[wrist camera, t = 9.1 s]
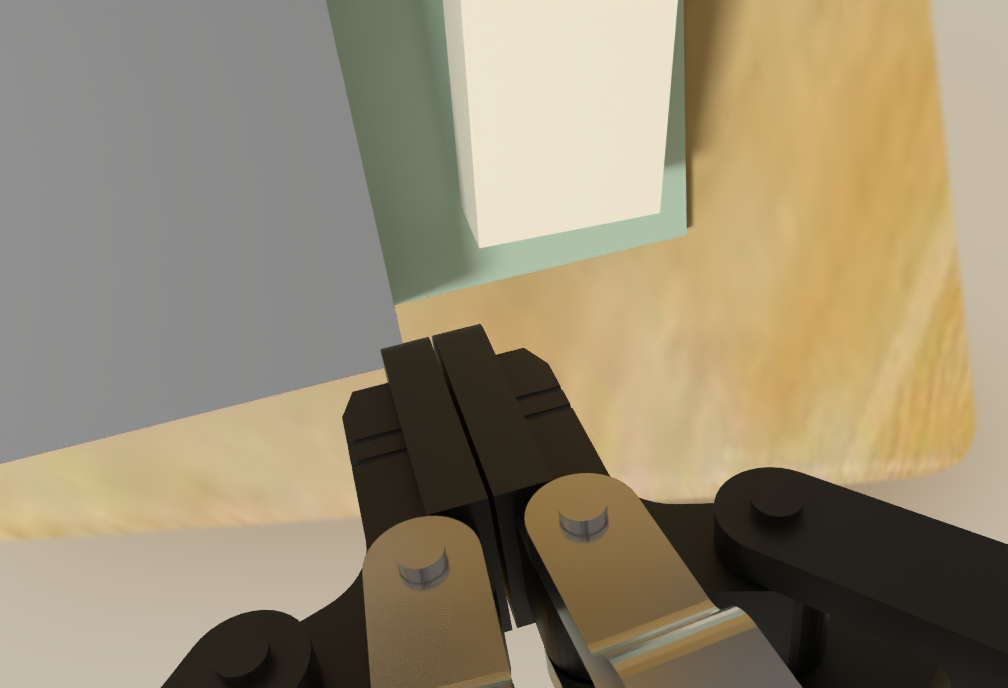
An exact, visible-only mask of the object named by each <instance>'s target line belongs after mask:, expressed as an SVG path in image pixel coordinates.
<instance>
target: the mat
mask: <svg viewBox="0 0 1008 688" xmlns="http://www.w3.org/2000/svg"><path fill="white" fill-rule="evenodd" d="M326 3H327V8H328V12H329V17H330V21H331V26H332V30H333V35H334V39H335V44H336V48H337V53H338V57H339V62H340V66H341V70H342V75H343V79H344V84H345V88H346V93H347V97H348V102H349V106H350V111H351V115H352V120H353V124H354V129H355V133H356V137H357V142H358V146H359V151H360V155H361V160H362V164H363V169H364V173H365V178H366V182H367V187H368V191H369V196H370V200H371V204H372V209H373V213H374V218H375V222H376V227H377V231H378V236H379V240H380V245H381V249H382V254H383V258H384V263H385V267H386V271H387V276H388V280H389V285H390V289H391V294H392V298H393V303H394V305H398V304H402V303H406V302H410V301H414V300H418V299H423V298H427V297H431V296H435V295H439V294H443V293H447V292H452V291H456V290H460V289H464V288H468V287H472V286H477V285H481V284H485V283H489V282H493V281H497V280H502V279H506V278H510V277H514V276H518V275H522V274H526V273H531V272H535V271H539V270H543V269H547V268H551V267H556V266H560V265H564V264H568V263H572V262H576V261H581V260H585V259H589V258H593V257H597V256H601V255H606V254H610V253H614V252H618V251H622V250H626V249H630V248H635V247H639V246H643V245H647V244H651V243H655V242H660V241H664V240H668V239H672V238H676V237H680V236H685V235H687V219H686V143H685V67H684V0H678V5H677V16H676V28H675V40H674V52H673V64H672V76H671V88H670V100H669V112H668V124H667V136H666V148H665V159H664V171H663V183H662V195H661V207H660V213H658V214H653V215H647V216H642V217H637V218H632V219H627V220H622V221H617V222H612V223H607V224H601V225H596V226H591V227H586V228H581V229H576V230H571V231H566V232H561V233H555V234H550V235H545V236H540V237H535V238H530V239H525V240H520V241H515V242H509V243H504V244H499V245H494V246H489V247H484V248H479V246H478V244H477V242H476V239H475V237H474V235H473V233H472V230H471V228H470V226H469V223H468V221H467V219H466V216H465V214H464V212H463V209H462V207H461V201H460V189H459V178H458V167H457V156H456V144H455V133H454V122H453V110H452V99H451V88H450V76H449V65H448V54H447V43H446V31H445V20H444V9H443V0H326Z"/></svg>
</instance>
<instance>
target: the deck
mask: <svg viewBox="0 0 1008 688" xmlns="http://www.w3.org/2000/svg"><path fill="white" fill-rule="evenodd" d="M399 344H403V343H402V338H401V334H400V330H399V325H398V321H397V316H396V312H395V307H394V303H393V298H392V294H391V289H390V285H389V280H388V276H387V271H386V267H385V263H384V258H383V254H382V249H381V245H380V240H379V236H378V231H377V227H376V222H375V218H374V213H373V209H372V204H371V200H370V196H369V191H368V187H367V182H366V178H365V173H364V169H363V164H362V160H361V155H360V151H359V146H358V142H357V137H356V133H355V129H354V124H353V120H352V115H351V111H350V106H349V102H348V97H347V93H346V88H345V84H344V79H343V75H342V70H341V66H340V62H339V57H338V53H337V48H336V44H335V39H334V35H333V30H332V26H331V21H330V17H329V12H328V8H327V3H326V0H0V464H2V463H6V462H10V461H14V460H18V459H22V458H26V457H30V456H34V455H38V454H42V453H46V452H50V451H54V450H58V449H62V448H66V447H70V446H74V445H78V444H82V443H86V442H90V441H94V440H98V439H102V438H106V437H110V436H114V435H118V434H122V433H126V432H130V431H134V430H138V429H142V428H146V427H150V426H154V425H158V424H162V423H166V422H170V421H174V420H177V419H181V418H185V417H189V416H193V415H197V414H201V413H205V412H209V411H213V410H217V409H221V408H225V407H229V406H233V405H237V404H241V403H245V402H249V401H253V400H257V399H261V398H265V397H269V396H273V395H277V394H281V393H285V392H289V391H293V390H297V389H301V388H305V387H309V386H313V385H317V384H321V383H325V382H329V381H333V380H337V379H341V378H345V377H349V376H353V375H357V374H361V373H365V372H369V371H373V370H377V369H381V368H384V364H383V360H382V356H381V351H380V349H383V348H387V347H391V346H395V345H399Z"/></svg>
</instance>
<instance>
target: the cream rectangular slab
mask: <svg viewBox="0 0 1008 688" xmlns="http://www.w3.org/2000/svg"><path fill="white" fill-rule="evenodd" d="M677 5H678V0H443V9H444V20H445V31H446V43H447V54H448V65H449V76H450V88H451V99H452V110H453V122H454V133H455V144H456V156H457V167H458V178H459V189H460V201H461V207H462V209H463V212H464V214H465V216H466V219H467V221H468V223H469V226H470V228H471V230H472V233H473V235H474V237H475V239H476V242H477V244H478V246H479V248H484V247H489V246H494V245H499V244H504V243H509V242H515V241H520V240H525V239H530V238H535V237H540V236H545V235H550V234H555V233H561V232H566V231H571V230H576V229H581V228H586V227H591V226H596V225H601V224H607V223H612V222H617V221H622V220H627V219H632V218H637V217H642V216H647V215H653V214H658V213H660V207H661V195H662V183H663V171H664V159H665V148H666V136H667V124H668V112H669V100H670V88H671V76H672V64H673V52H674V40H675V28H676V16H677Z"/></svg>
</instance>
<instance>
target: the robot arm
mask: <svg viewBox="0 0 1008 688" xmlns="http://www.w3.org/2000/svg"><path fill="white" fill-rule="evenodd" d="M432 341H433V347H434V349H433V347H432V344H431V341H430V339H429V337H427V338H423V339H419V340H415V341H411V342H407V343H403V344H399V345H395V346H391V347H387V348H383V349H380V351H381V356H382V360H383V364H384V368H385V372H386V376H387V381H388V383H385V384H382V385H378V386H374V387H370V388H366V389H362V390H358V391H354V392H352V395H351V397H350V400H349V402H348V405H347V407H346V409H345V412H344V414H343V417H342V419H343V424H344V429H345V434H346V440H347V444H348V450H349V455H350V460H351V465H352V471H353V476H354V481H355V486H356V492H357V497H358V502H359V507H360V513H361V518H362V523H363V527H364V533H365V538H366V547H367V552H366V556H365V559H364V563H363V567H362V569H361V571H360V573H359V575H358V577H357V578H356V580H355V581H354V583H353V584H352V585H351V586H350V587H349V588H348V589H347V590H346V591H345V592H344V593H343V594H342V595H341V596H340V597H339V598H337V599H336V600H335V601H333V602H332V603H330V604H329V605H327V606H326V607H324V608H323V609H321V610H319V611H318V612H316V613H314V614H312V615H311V616H309V617H307V618H306V619H304V620H302V621H300V622H299V621H298V620H297V619H295V618H294V617H292V616H291V615H288V614H286V613H283V612H279V611H274V610H259V611H251V612H247V613H243V614H240V615H237V616H235V617H232V618H229V619H228V620H226V621H224V622H222V623H220V624H219V625H217V626H216V627H214V628H213V629H211V630H210V631H209V632H208V633H206V634H205V635H204V636H203V637H202V638H201V639H200V640H199V641H198V642H197V643H196V644H195V646H194V647H193V648H192V649H191V651H190V652H189V653H188V654H187V655H186V657H185V658H184V659H183V660H182V662H181V663H180V664H179V666H178V667H177V668H176V669H175V671H174V672H173V673H172V675H171V676H170V677H169V678H168V679H167V681H166V682H165V683H164V684H163V686H162V687H161V688H515V687H514V684H513V683H512V678H511V666H510V661H509V655H508V650H507V645H506V640H505V635H504V632H507V631H510V630H512V625H511V620H510V614H509V609H508V603H507V600H508V602H509V605H510V608H511V611H512V614H513V617H514V620H515V623H516V626H517V628H519V627H522V626H526V625H529V624H532V623H536V625H537V628H538V630H539V633H540V636H541V639H542V641H543V644H544V648H545V654H546V660H547V667H548V673H549V675H550V678H551V681H552V683H553V685H554V687H555V688H1008V544H1005V543H1002V542H999V541H996V540H994V539H991V538H988V537H985V536H982V535H979V534H976V533H973V532H971V531H968V530H965V529H962V528H959V527H956V526H953V525H950V524H948V523H945V522H942V521H939V520H936V519H933V518H930V517H927V516H924V515H922V514H919V513H916V512H913V511H910V510H907V509H904V508H902V507H899V506H896V505H893V504H890V503H887V502H884V501H881V500H878V499H875V498H873V497H870V496H867V495H864V494H861V493H858V492H855V491H852V490H850V489H847V488H844V487H841V486H838V485H835V484H832V483H830V482H827V481H824V480H821V479H818V478H815V477H812V476H809V475H807V474H804V473H801V472H797V471H794V470H790V469H784V468H774V467H766V468H756V469H751V470H747V471H744V472H741V473H739V474H737V475H735V476H733V477H732V478H730V479H729V480H728V481H726V482H725V483H724V484H723V485H722V486H721V487H720V489H719V491H718V492H717V494H716V497H715V501H714V503H706V504H663V503H656V502H652V501H648V500H644V499H642V498H639V497H638V496H637V495H636V494H635V492H634V491H633V490H632V489H631V488H630V487H628V486H627V485H626V484H625V483H623V482H621V481H619V480H617V479H615V478H612V477H610V475H609V474H608V472H607V470H606V468H605V466H604V465H603V463H602V461H601V459H600V457H599V456H598V454H597V452H596V450H595V448H594V446H593V445H592V443H591V441H590V439H589V437H588V435H587V434H586V432H585V430H584V428H583V426H582V425H581V423H580V421H579V419H578V417H577V415H576V414H575V412H574V410H573V408H571V406H570V403H569V401H568V399H567V397H566V395H565V393H564V392H563V390H561V387H560V384H559V383H558V381H557V379H556V377H555V375H554V373H553V372H552V370H551V368H550V366H549V364H548V363H546V362H545V361H543V360H542V359H540V358H539V357H537V356H536V355H534V354H533V353H531V352H530V351H528V350H526V349H525V348H521V349H517V350H513V351H509V352H505V353H501V354H498V355H496V354H495V352H494V350H493V348H492V346H491V344H490V342H489V339H488V337H487V335H486V333H485V331H484V329H483V327H482V325H481V324H478V325H474V326H470V327H466V328H462V329H458V330H454V331H450V332H446V333H442V334H438V335H434V336H432ZM506 597H507V598H506Z"/></svg>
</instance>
